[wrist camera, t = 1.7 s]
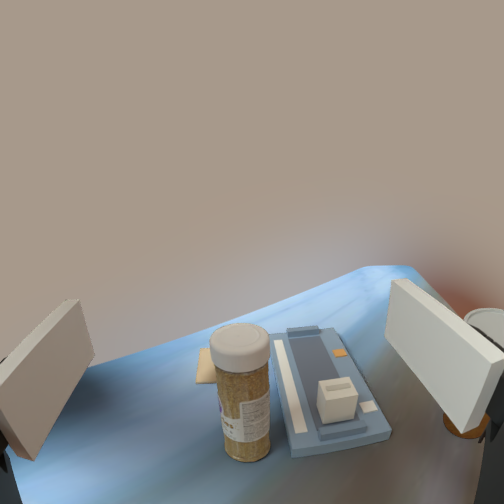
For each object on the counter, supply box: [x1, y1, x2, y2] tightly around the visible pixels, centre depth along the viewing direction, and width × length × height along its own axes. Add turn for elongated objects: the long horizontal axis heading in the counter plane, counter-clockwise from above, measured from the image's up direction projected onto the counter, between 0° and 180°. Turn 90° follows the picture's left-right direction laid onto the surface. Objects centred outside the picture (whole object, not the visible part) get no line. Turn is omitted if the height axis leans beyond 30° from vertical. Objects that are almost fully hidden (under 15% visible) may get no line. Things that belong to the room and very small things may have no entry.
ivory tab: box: [316, 377, 358, 424], centre depth 28 cm, size 3×3×4 cm
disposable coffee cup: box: [443, 308, 504, 439], centre depth 24 cm, size 10×10×12 cm
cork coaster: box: [196, 348, 217, 384], centre depth 41 cm, size 8×8×1 cm
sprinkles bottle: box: [209, 323, 271, 462], centre depth 25 cm, size 5×5×14 cm
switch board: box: [269, 326, 392, 458], centre depth 36 cm, size 10×22×2 cm, turn 3°
